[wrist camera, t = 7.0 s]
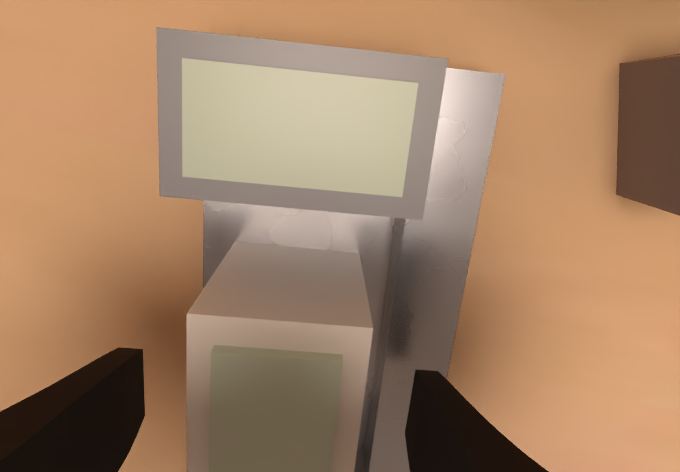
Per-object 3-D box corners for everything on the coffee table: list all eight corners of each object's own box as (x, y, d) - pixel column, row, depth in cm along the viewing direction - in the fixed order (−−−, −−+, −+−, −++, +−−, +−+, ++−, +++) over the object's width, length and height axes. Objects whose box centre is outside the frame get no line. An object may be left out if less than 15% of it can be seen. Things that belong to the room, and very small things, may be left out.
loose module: (343, 384, 16) (349, 518, 11) (230, 376, 16) (183, 508, 11) (359, 252, 14) (374, 335, 9) (234, 241, 14) (182, 320, 9)
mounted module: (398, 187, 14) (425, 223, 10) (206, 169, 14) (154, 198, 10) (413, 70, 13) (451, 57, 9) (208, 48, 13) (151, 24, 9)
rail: (401, 519, 18) (409, 568, 16) (202, 507, 18) (187, 556, 16) (480, 77, 13) (505, 74, 11) (208, 48, 13) (187, 39, 11)
